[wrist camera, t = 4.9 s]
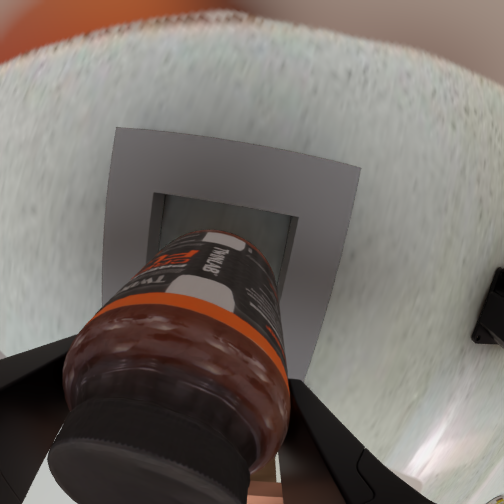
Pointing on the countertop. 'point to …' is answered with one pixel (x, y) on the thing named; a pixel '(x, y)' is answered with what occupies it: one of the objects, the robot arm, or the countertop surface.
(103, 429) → the supplement bottle
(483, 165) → the countertop surface
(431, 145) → the countertop surface
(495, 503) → the supplement bottle
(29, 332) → the countertop surface
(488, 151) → the countertop surface
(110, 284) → the socket plate
